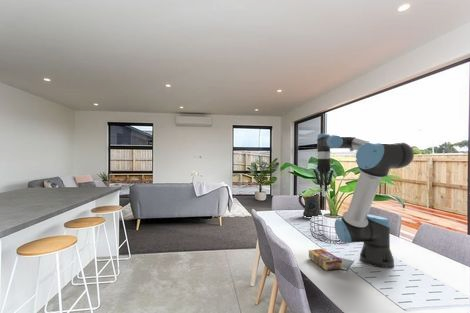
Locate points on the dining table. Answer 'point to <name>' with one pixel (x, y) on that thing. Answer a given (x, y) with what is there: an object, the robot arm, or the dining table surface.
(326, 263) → the candy box
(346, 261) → the mat
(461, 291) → the dining table surface
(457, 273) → the dining table surface
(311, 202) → the beer stein
